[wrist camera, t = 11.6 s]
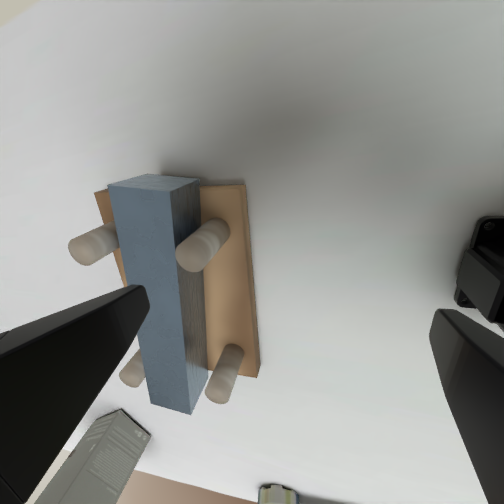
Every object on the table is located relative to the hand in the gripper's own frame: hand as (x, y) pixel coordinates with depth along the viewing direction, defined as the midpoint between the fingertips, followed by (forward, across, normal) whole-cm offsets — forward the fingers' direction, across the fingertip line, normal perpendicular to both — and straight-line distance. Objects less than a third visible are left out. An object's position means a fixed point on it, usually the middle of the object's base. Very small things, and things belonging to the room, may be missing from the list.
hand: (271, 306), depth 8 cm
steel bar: (+10, +10, +7) cm, 16 cm away
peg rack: (+12, +10, +8) cm, 17 cm away
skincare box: (+12, +26, +34) cm, 44 cm away
